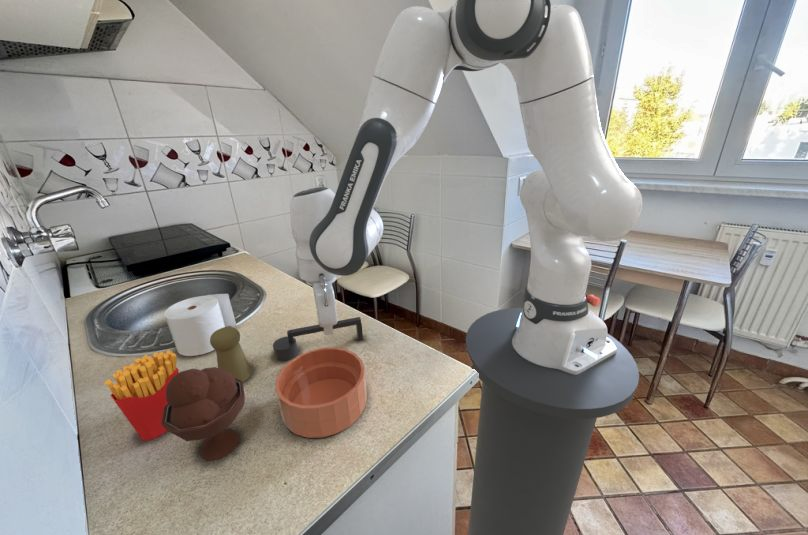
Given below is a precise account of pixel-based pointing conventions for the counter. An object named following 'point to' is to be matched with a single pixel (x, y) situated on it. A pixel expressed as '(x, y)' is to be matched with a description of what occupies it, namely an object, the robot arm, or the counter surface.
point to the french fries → (144, 392)
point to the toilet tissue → (198, 322)
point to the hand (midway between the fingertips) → (326, 321)
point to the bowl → (321, 392)
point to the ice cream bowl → (204, 409)
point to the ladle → (288, 346)
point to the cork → (230, 352)
